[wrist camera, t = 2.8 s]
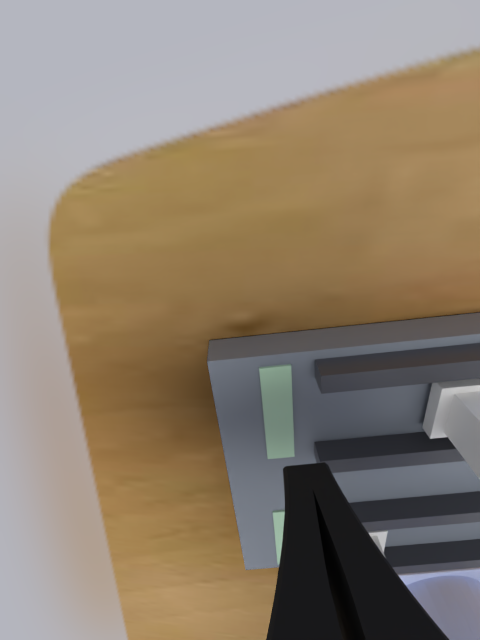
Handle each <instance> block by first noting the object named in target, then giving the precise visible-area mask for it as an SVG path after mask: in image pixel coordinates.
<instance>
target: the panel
mask: <svg viewBox="0 0 480 640" xmlns="http://www.w3.org/2000/svg"><path fill="white" fill-rule="evenodd" d="M207 364H208V369H209V375H210V380H211V386H212V391H213V396H214V402H215V407H216V413H217V418H218V423H219V429H220V434H221V439H222V445H223V450H224V456H225V461H226V466H227V472H228V477H229V483H230V488H231V493H232V499H233V504H234V510H235V515H236V520H237V526H238V531H239V536H240V542H241V547H242V553H243V558H244V563H245V569H246V570H251V569H262V568H274V567H279V564H280V556H281V549H282V540H283V527H284V515H285V496H284V480H283V468H284V467H286V466H291V465H302V464H313V463H323V462H325V463H326V464H328V466H329V468H330V470H331V472H332V474H333V476H334V478H335V480H336V481H337V483H338V485H339V487H340V489H341V490H342V492H343V494H344V496H345V497H346V499H347V501H348V502H349V504H350V506H351V507H352V509H353V510H354V512H355V514H356V515H357V517H358V518H359V520H360V521H361V523H362V524H363V526H364V527H365V529H366V530H367V532H370V531H381V530H387V531H388V533H387V538H386V543H385V548H384V555H385V558H386V559H387V561H388V562H389V564H390V565H391V566H392V568H393V569H394V571H395V572H396V573H397V574H407V573H419V572H431V571H443V570H455V569H467V568H479V567H480V479H479V478H478V477H477V475H476V474H475V473H474V471H473V470H472V469H471V467H470V466H469V465H468V463H467V462H466V461H465V459H464V458H463V457H462V455H461V454H460V453H459V451H458V450H457V449H456V448H455V446H454V445H453V444H452V442H451V441H450V440H449V438H448V437H443V438H432V439H430V438H429V436H428V435H427V434H426V432H425V431H424V429H423V428H422V426H423V422H424V417H425V413H426V408H427V404H428V399H429V395H430V390H431V386H432V383H437V382H448V381H458V380H468V379H478V378H480V313H470V314H460V315H451V316H441V317H431V318H422V319H412V320H402V321H393V322H383V323H373V324H364V325H354V326H344V327H334V328H325V329H315V330H305V331H296V332H286V333H276V334H267V335H257V336H247V337H238V338H228V339H218V340H209V348H208V357H207Z"/></svg>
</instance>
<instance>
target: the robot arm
mask: <svg viewBox="0 0 480 640" xmlns="http://www.w3.org/2000/svg"><path fill="white" fill-rule="evenodd" d="M283 480H284V496H285V515H284V527H283V540H282V549H281V556H280V564H279V571H278V578H277V585H276V591H275V597H274V603H273V608H272V613H271V619H270V624H269V629H268V634H267V639H266V640H480V567H479V568H467V569H455V570H443V571H431V572H419V573H407V574H397V573H396V572H395V571H394V569H393V568H392V566H391V565H390V564H389V562H388V561H387V559H386V558H385V557H384V555H383V554H382V553H381V551H380V550H379V548H378V547H377V545H376V544H375V542H374V541H373V540H372V538H371V537H370V535H369V533H368V532H367V530H366V529H365V527H364V526H363V524H362V523H361V521H360V520H359V518H358V517H357V515H356V514H355V512H354V510H353V509H352V507H351V506H350V504H349V502H348V501H347V499H346V497H345V496H344V494H343V492H342V490H341V489H340V487H339V485H338V483H337V481H336V480H335V478H334V476H333V474H332V472H331V470H330V468H329V466H328V464H326V463H325V462H323V463H313V464H302V465H291V466H286V467H284V468H283Z"/></svg>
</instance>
